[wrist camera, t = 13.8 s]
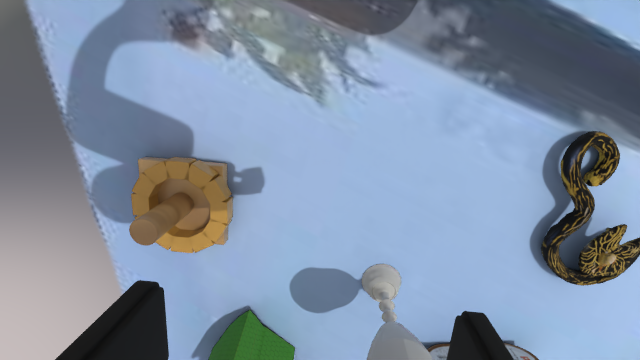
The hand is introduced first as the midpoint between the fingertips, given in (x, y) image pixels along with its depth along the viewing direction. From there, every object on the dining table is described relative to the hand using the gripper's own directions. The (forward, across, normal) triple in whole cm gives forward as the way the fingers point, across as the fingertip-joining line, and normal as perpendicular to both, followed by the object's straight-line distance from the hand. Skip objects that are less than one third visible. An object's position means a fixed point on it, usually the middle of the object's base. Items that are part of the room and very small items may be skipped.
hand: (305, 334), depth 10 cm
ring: (+27, +16, +7) cm, 32 cm away
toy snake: (+28, -30, +4) cm, 42 cm away
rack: (+28, +17, +7) cm, 34 cm away
